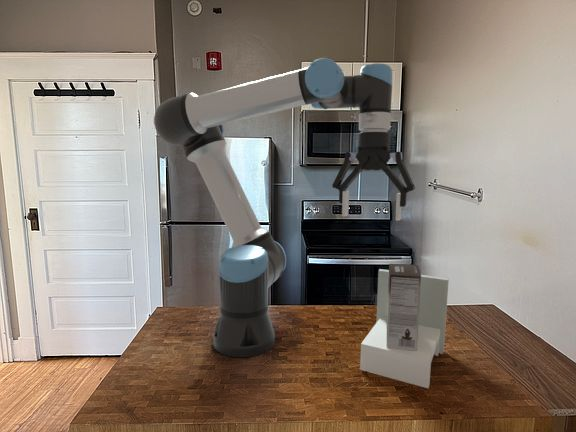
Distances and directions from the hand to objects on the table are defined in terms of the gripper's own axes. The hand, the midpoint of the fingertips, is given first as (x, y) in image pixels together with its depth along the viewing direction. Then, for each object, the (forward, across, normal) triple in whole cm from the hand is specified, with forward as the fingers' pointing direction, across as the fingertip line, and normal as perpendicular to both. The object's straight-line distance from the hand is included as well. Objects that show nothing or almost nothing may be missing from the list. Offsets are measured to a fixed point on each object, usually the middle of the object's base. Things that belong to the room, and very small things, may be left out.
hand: (370, 218), depth 94 cm
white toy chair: (+31, +11, -10) cm, 34 cm away
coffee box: (+25, +11, -12) cm, 30 cm away
